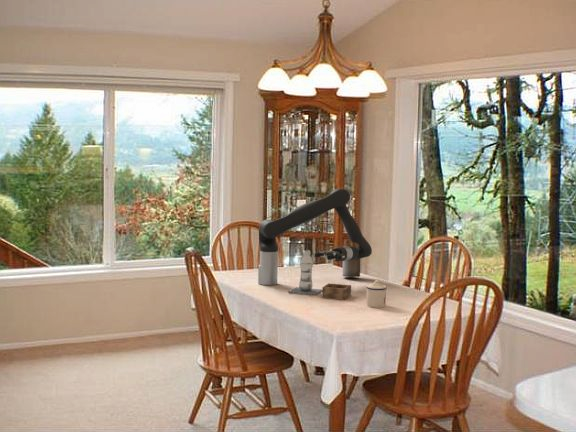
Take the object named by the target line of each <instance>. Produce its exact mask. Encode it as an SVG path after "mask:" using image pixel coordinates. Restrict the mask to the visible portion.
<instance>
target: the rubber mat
mask: <svg viewBox="0 0 576 432" xmlns="http://www.w3.org/2000/svg"><path fill="white" fill-rule="evenodd" d="M287 293H288V294H294V295H295V294H296V295H297V294H298V295H307V296H317V295H319V294H320V293H322V289H321V288H320V289H319V288H312V289H311V290H308V291H304V290H301V289H300V288H299V286H296V287H294V288H293V289H290V290H289V291H288V292H287Z"/></svg>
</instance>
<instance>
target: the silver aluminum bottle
mask: <svg viewBox="0 0 576 432" xmlns="http://www.w3.org/2000/svg"><path fill="white" fill-rule="evenodd" d="M299 264H300V278H299V280H300V281H299V283H298V284H299V286H298V287H299V288H300V289H301V290H304V291H308V290H311V289H313V277H312V276H313V275H312V272H313V265H314V259H313V258H312V256H311V250H309V249H304V250H302V256H301V258H300V260H299Z"/></svg>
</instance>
